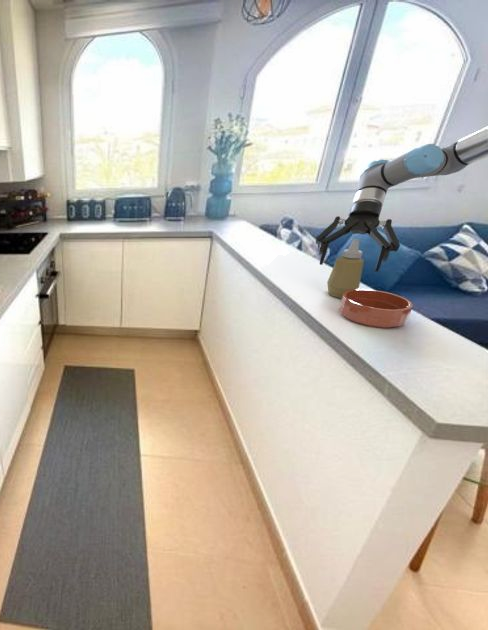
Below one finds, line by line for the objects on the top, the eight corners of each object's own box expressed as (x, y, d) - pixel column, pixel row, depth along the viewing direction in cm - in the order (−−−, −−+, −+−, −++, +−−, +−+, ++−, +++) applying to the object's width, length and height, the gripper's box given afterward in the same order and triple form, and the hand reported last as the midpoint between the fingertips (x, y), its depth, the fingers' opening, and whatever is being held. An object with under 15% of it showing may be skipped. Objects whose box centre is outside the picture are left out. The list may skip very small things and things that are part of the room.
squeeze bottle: (334, 288, 114) (350, 234, 106) (361, 296, 107) (380, 239, 99) (318, 293, 111) (333, 238, 103) (345, 302, 104) (363, 244, 97)
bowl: (418, 323, 91) (426, 304, 88) (379, 334, 87) (386, 314, 85) (362, 302, 103) (368, 285, 101) (325, 311, 100) (330, 294, 97)
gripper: (417, 216, 103) (399, 278, 100) (318, 211, 118) (299, 265, 115) (425, 201, 98) (406, 266, 94) (319, 198, 112) (300, 254, 109)
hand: (348, 266), depth 104 cm, fingers open, 13 cm apart
